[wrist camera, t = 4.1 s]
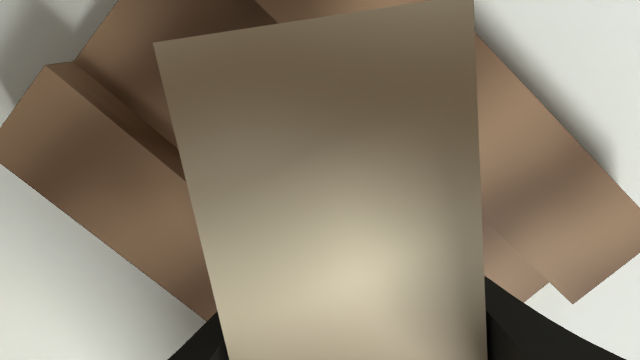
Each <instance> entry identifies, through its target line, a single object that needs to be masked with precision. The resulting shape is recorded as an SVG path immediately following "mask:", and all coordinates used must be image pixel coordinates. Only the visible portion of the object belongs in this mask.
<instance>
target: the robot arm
mask: <svg viewBox="0 0 640 360" xmlns="http://www.w3.org/2000/svg"><path fill="white" fill-rule="evenodd" d="M484 283H485V308H486V334H487V359H488V360H626V359H624V358H621V357H619V356H617V355H615V354H613V353H611V352H609V351H607V350H605V349H603V348H601V347H599V346H596V345H594V344H592V343H590V342H588V341H587V340H585V339H583V338H581V337H579V336H577V335H575V334H574V333H572V332H570V331H568V330H567V329H565V328H563V327H561V326H560V325H558V324H556V323H555V322H553V321H551V320H550V319H548V318H546V317H545V316H543V315H541V314H540V313H538V312H537V311H535V310H534V309H532V308H531V307H529V306H528V305H526V304H525V303H523V302H522V301H520V300H519V299H517V298H516V297H514V296H513V295H511V294H510V293H509V292H507V291H506V290H504V289H503V288H501V287H500V286H499V285H497V284H496V283H494V282H493V281H492V280H490V279H489V278H487V277H486V276H485V275H484ZM168 360H229V357H228V352H227V348H226V344H225V340H224V336H223V332H222V328H221V324H220V319H219V315H218V311H217V312H216V313H215V314H214V315H213V316H212V317H211V318H210V319H209V320H208V321H207V322H206V323H205V324H204V325H203V326H202V327H201V328H200V329H199V330H198V331H197V332H196V333H195V334H194V335H193V336H192V337H191V338H190V339H189V340H188V341H187V342H186V343H185V344H184V345H183V346H182V347H181V348H180V349H179V350H178V351H177V352H176V353H175V354H173V355H172V356H171V357H170V358H169V359H168Z"/></svg>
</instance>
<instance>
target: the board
mask: <svg viewBox="0 0 640 360" xmlns="http://www.w3.org/2000/svg"><path fill="white" fill-rule="evenodd" d="M424 1H431V0H118V1H117V3H116V4H115V6H114V7H113V8H112V10H111V11H110V12H109V14H108V15H107V17H106V18H105V19H104V21H103V22H102V23H101V25H100V26H99V27H98V29H97V30H96V32H95V33H94V34H93V36H92V37H91V38H90V40H89V41H88V43H87V44H86V45H85V47H84V48H83V49H82V51H81V52H80V54H79V55H78V56H77V58H76V59H75V60H74V61H73V62H65V63H57V64H49V65H45V66H44V67H43V69H42V70H41V71H40V73H39V74H38V76H37V77H36V78H35V80H34V81H33V83H32V84H31V86H30V87H29V88H28V90H27V91H26V93H25V94H24V95H23V97H22V98H21V100H20V101H19V102H18V104H17V105H16V107H15V108H14V109H13V111H12V112H11V114H10V115H9V116H8V118H7V119H6V121H5V122H4V123H3V125H2V126H1V128H0V164H2V165H3V166H4V167H6V168H7V169H8V170H10V171H11V172H12V173H14V174H15V175H16V176H17V177H19V178H20V179H21V180H23V181H24V182H25V183H27V184H28V185H29V186H31V187H32V188H33V189H34V190H36V191H37V192H38V193H40V194H41V195H42V196H44V197H45V198H46V199H48V200H49V201H50V202H52V203H53V204H54V205H55V206H57V207H58V208H59V209H61V210H62V211H63V212H65V213H66V214H67V215H69V216H70V217H71V218H72V219H74V220H75V221H76V222H78V223H79V224H80V225H82V226H83V227H84V228H86V229H87V230H88V231H89V232H91V233H92V234H93V235H95V236H96V237H97V238H99V239H100V240H101V241H103V242H104V243H105V244H106V245H108V246H109V247H110V248H112V249H113V250H114V251H116V252H117V253H118V254H120V255H121V256H122V257H123V258H125V259H126V260H127V261H129V262H130V263H131V264H133V265H134V266H135V267H137V268H138V269H139V270H140V271H142V272H143V273H144V274H146V275H147V276H148V277H150V278H151V279H152V280H154V281H155V282H156V283H157V284H159V285H160V286H161V287H163V288H164V289H165V290H167V291H168V292H169V293H171V294H172V295H173V296H174V297H176V298H177V299H178V300H180V301H181V302H182V303H184V304H185V305H186V306H188V307H189V308H190V309H191V310H193V311H194V312H195V313H197V314H198V315H199V316H201V317H202V318H203V319H205V320H206V321H208V320H209V319H210V318H211V317H212V316H213V315H214V314H215V313H216V312H217V307H216V303H215V299H214V295H213V290H212V286H211V282H210V278H209V274H208V270H207V266H206V261H205V257H204V253H203V249H202V245H201V241H200V237H199V233H198V228H197V224H196V220H195V216H194V212H193V208H192V204H191V199H190V195H189V191H188V187H187V183H186V179H185V175H184V170H183V166H182V162H181V158H180V154H179V150H178V146H177V141H176V137H175V133H174V129H173V125H172V121H171V117H170V113H169V108H168V104H167V100H166V96H165V92H164V88H163V84H162V79H161V75H160V71H159V67H158V63H157V59H156V55H155V50H154V46H153V43H154V42H160V41H167V40H174V39H180V38H187V37H193V36H200V35H207V34H213V33H220V32H226V31H233V30H240V29H246V28H253V27H259V26H266V25H273V24H279V23H286V22H292V21H299V20H306V19H312V18H319V17H325V16H332V15H339V14H345V13H352V12H358V11H365V10H372V9H378V8H385V7H391V6H398V5H405V4H411V3H418V2H424ZM475 52H476V78H477V104H478V129H479V155H480V180H481V206H482V231H483V257H484V275H485V276H486V277H487V278H489V279H490V280H492V281H493V282H494V283H496V284H497V285H499V286H500V287H501V288H503V289H504V290H506V291H507V292H509V293H510V294H511V295H513V296H514V297H516V298H517V299H519V300H520V301H522V302H523V303H524V302H525V301H526V300H528V299H529V298H530V297H531V296H533V295H534V294H535V293H536V292H538V291H539V290H540V289H541V288H543V287H544V286H545V285H546V284H548V283H549V282H550V283H551V284H552V285H553V286H554V287H555V288H556V289H557V290H558V291H559V292H560V293H561V294H562V295H563V296H564V297H565V298H567V299H568V300H569V301H570V302H571V303H572V304H574V303H575V302H577V301H578V300H579V299H580V298H582V297H583V296H584V295H586V294H587V293H588V292H590V291H591V290H592V289H593V288H595V287H596V286H597V285H599V284H600V283H601V282H602V281H604V280H605V279H606V278H608V277H609V276H610V275H612V274H613V273H614V272H615V271H617V270H618V269H619V268H621V267H622V266H623V265H625V264H626V263H627V262H628V261H630V260H631V259H632V258H634V257H635V256H636V255H637V254H639V253H640V208H639V207H638V206H637V204H636V203H635V202H634V201H633V200H632V199H631V198H630V197H629V196H628V195H627V194H626V193H625V192H624V191H623V190H622V189H621V187H620V186H619V185H618V184H617V183H616V182H615V181H614V180H613V179H612V178H611V177H610V176H609V175H608V174H607V173H606V171H605V170H604V169H603V168H602V167H601V166H600V165H599V164H598V163H597V162H596V161H595V160H594V159H593V158H592V157H591V156H590V154H589V153H588V152H587V151H586V150H585V149H584V148H583V147H582V146H581V145H580V144H579V143H578V142H577V141H576V140H575V138H574V137H573V136H572V135H571V134H570V133H569V132H568V131H567V130H566V129H565V128H564V127H563V126H562V125H561V124H560V123H559V121H558V120H557V119H556V118H555V117H554V116H553V115H552V114H551V113H550V112H549V111H548V110H547V109H546V108H545V107H544V105H543V104H542V103H541V102H540V101H539V100H538V99H537V98H536V97H535V96H534V95H533V94H532V93H531V92H530V91H529V90H528V88H527V87H526V86H525V85H524V84H523V83H522V82H521V81H520V80H519V79H518V78H517V77H516V76H515V75H514V74H513V73H512V71H511V70H510V69H509V68H508V67H507V66H506V65H505V64H504V63H503V62H502V61H501V60H500V59H499V58H498V57H497V55H496V54H495V53H494V52H493V51H492V50H491V49H490V48H489V47H488V46H487V45H486V44H485V43H484V42H483V41H482V40H481V38H480V37H479V36H478V35H477V34H476V33H475Z"/></svg>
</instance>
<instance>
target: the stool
mask: <svg viewBox="0 0 640 360" xmlns="http://www.w3.org/2000/svg"><path fill="white" fill-rule="evenodd" d="M153 46H154V50H155V55H156V59H157V63H158V67H159V71H160V75H161V79H162V84H163V88H164V92H165V96H166V100H167V104H168V108H169V113H170V117H171V121H172V125H173V129H174V133H175V137H176V141H177V146H178V150H179V154H180V158H181V162H182V166H183V170H184V175H185V179H186V183H187V187H188V191H189V195H190V199H191V204H192V208H193V212H194V216H195V220H196V224H197V228H198V233H199V237H200V241H201V245H202V249H203V253H204V257H205V261H206V266H207V270H208V274H209V278H210V282H211V286H212V290H213V295H214V299H215V303H216V307H217V311H218V315H219V319H220V324H221V328H222V332H223V336H224V340H225V344H226V348H227V352H228V357H229V360H488V359H487V334H486V308H485V283H484V257H483V231H482V206H481V180H480V155H479V129H478V104H477V78H476V52H475V27H474V1H473V0H431V1H424V2H418V3H411V4H405V5H398V6H391V7H385V8H378V9H372V10H365V11H358V12H352V13H345V14H339V15H332V16H325V17H319V18H312V19H306V20H299V21H292V22H286V23H279V24H273V25H266V26H259V27H253V28H246V29H240V30H233V31H226V32H220V33H213V34H207V35H200V36H193V37H187V38H180V39H174V40H167V41H160V42H154V43H153Z"/></svg>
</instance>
